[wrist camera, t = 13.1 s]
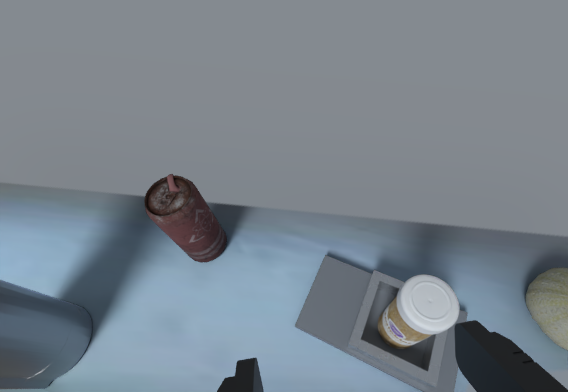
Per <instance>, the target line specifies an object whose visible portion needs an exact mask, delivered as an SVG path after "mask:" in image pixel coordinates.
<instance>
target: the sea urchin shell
mask: <svg viewBox="0 0 568 392" xmlns="http://www.w3.org/2000/svg"><path fill="white" fill-rule="evenodd" d="M525 298H526V305H527V308H528V310H529V311H530V314H531V315H532V318H533V319H534V320H535V321H536V322H537V323H538V325H539V326H540V328H541V329H542V331H543V332H544V333H545V334H546V335H547V336H548V337H549V338H550V339H551V340H552V341H553V342H554V343H556V344H557V345H559V346H561V347H562V348H564V349H566V350H568V268H552V269H550V270H547V271H546V272H544V273H542V274H539V275H538V276H537V277H536V279H535V280H534V281H533V282H532V283H530V285H529V287H528V290H527V293H526V297H525Z"/></svg>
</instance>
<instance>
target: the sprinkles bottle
mask: <svg viewBox="0 0 568 392" xmlns="http://www.w3.org/2000/svg"><path fill="white" fill-rule="evenodd" d="M458 316H459V302H458V299H457V296H456V294H455V293H454V291H453V290H452V288H451V287H450V286H449V285H448V284H447V283H446V282H444V281H443V280H441V279H439V278H437V277H435V276H432V275H426V274H422V275H416V276H413V277H411V278H410V279H408V280H407V281H406V282H405V283H404V284H403V285H402V287H401V288H400V289H399V291H398V294H397V296H396V297H395V298H394V300H393V301H392V302H391V304H389V305H388V307H387V308H386V309H385V311H384V312H383V313H382V314H381V315H380V317H379V320H378V331H379V333H380V336H381V338H382V339H383V340H384V342H385V343H386V344H388V345H389V346H391V347H393V348H396V349H406V348H409V347H411V346H412V345H414V344H416V343H418V342H420V341H422V340H424V339H426V338H428V337H430V336H431V335H433V334H439V333H441V332H443V331H445V330H447V329H449V328H450V327H451V326H453V325H454V324H455V322H456V321H457V319H458Z"/></svg>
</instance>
